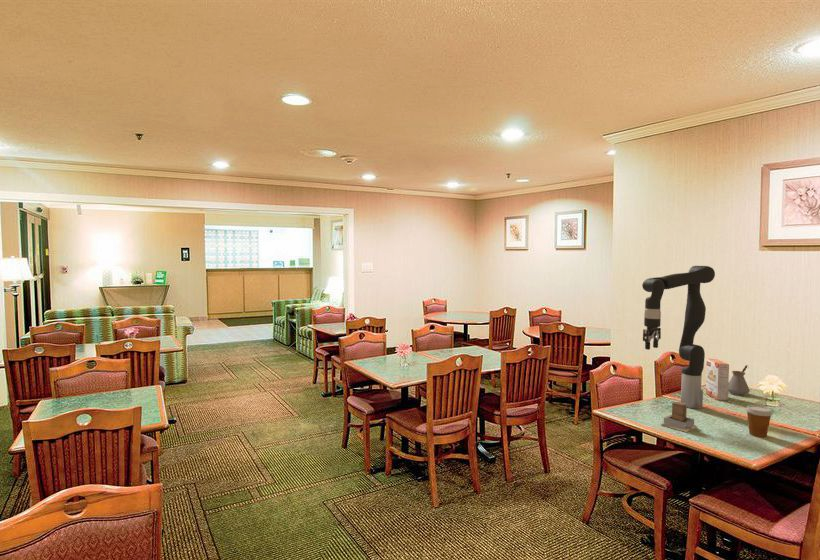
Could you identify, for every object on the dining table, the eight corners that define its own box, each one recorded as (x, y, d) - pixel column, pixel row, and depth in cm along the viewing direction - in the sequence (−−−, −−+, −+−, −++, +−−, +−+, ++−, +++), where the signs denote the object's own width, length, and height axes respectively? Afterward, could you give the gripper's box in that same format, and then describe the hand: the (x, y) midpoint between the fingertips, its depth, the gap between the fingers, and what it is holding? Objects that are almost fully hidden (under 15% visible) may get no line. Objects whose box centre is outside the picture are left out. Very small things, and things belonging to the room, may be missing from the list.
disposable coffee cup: (762, 440, 207) (763, 412, 206) (740, 432, 215) (741, 406, 215) (776, 437, 210) (777, 410, 210) (753, 430, 219) (754, 404, 219)
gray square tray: (671, 420, 231) (672, 413, 231) (696, 427, 222) (696, 419, 222) (661, 425, 224) (661, 417, 224) (686, 432, 215) (686, 424, 215)
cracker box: (704, 393, 279) (706, 358, 279) (715, 394, 279) (717, 358, 278) (716, 400, 266) (718, 363, 265) (728, 401, 265) (729, 363, 264)
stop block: (675, 422, 226) (676, 401, 226) (686, 425, 223) (686, 403, 222) (671, 424, 224) (672, 403, 223) (681, 427, 220) (682, 405, 220)
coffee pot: (745, 397, 272) (746, 371, 271) (722, 393, 281) (723, 368, 280) (757, 391, 285) (758, 366, 285) (735, 387, 294) (736, 363, 294)
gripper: (653, 319, 239) (652, 351, 240) (666, 317, 248) (665, 348, 248) (638, 317, 245) (637, 348, 246) (651, 315, 254) (650, 346, 254)
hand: (651, 348), depth 247 cm, fingers open, 8 cm apart
